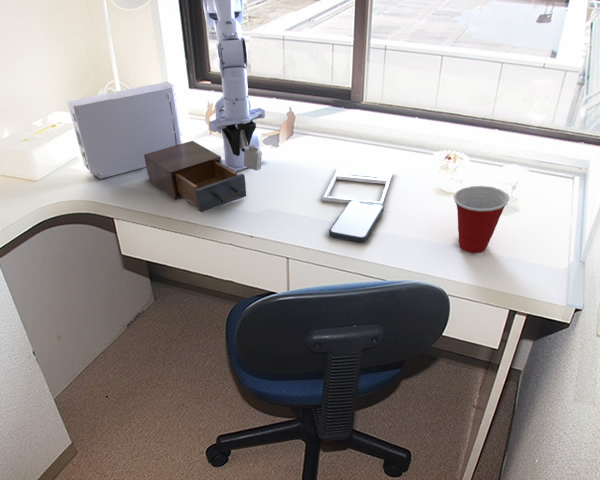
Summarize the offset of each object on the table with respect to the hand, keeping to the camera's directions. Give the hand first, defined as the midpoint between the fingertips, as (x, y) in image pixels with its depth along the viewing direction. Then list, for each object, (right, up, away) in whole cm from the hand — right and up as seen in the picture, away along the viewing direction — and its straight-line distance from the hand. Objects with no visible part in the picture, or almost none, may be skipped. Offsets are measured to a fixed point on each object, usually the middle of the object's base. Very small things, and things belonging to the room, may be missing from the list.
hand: (240, 153), depth 135 cm
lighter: (+2, -3, 0) cm, 4 cm away
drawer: (-7, -11, +2) cm, 13 cm away
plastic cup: (+51, -24, -16) cm, 59 cm away
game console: (-31, +2, +21) cm, 37 cm away
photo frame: (+30, -7, +7) cm, 31 cm away
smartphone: (+28, -18, -7) cm, 34 cm away
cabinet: (-16, -5, +12) cm, 20 cm away
